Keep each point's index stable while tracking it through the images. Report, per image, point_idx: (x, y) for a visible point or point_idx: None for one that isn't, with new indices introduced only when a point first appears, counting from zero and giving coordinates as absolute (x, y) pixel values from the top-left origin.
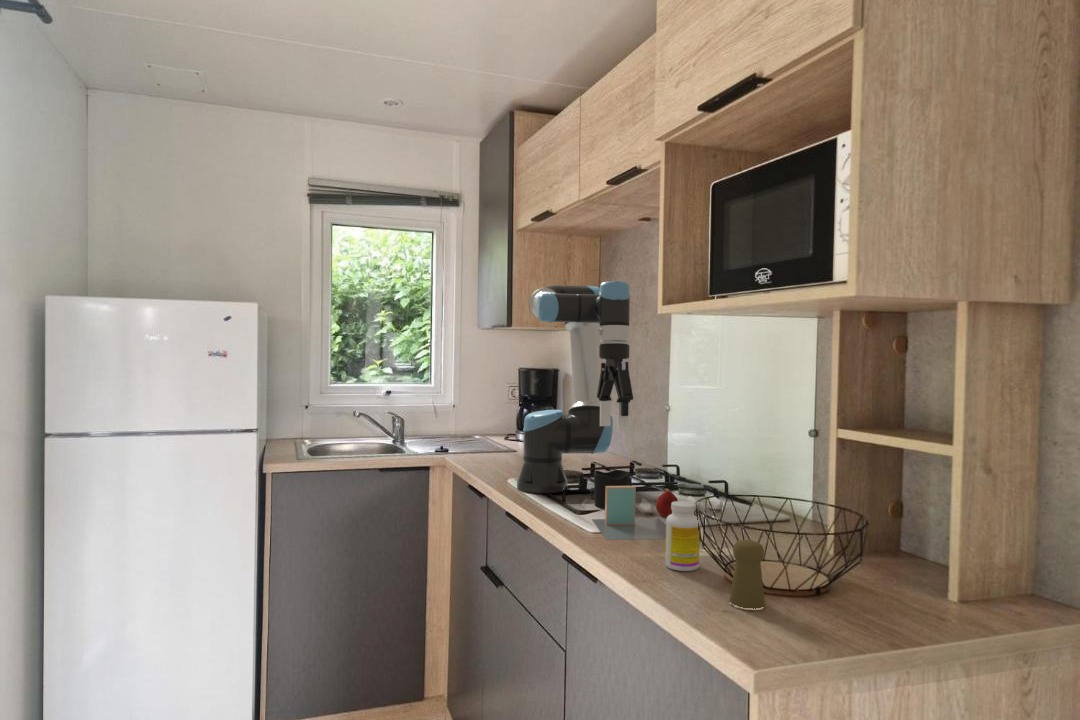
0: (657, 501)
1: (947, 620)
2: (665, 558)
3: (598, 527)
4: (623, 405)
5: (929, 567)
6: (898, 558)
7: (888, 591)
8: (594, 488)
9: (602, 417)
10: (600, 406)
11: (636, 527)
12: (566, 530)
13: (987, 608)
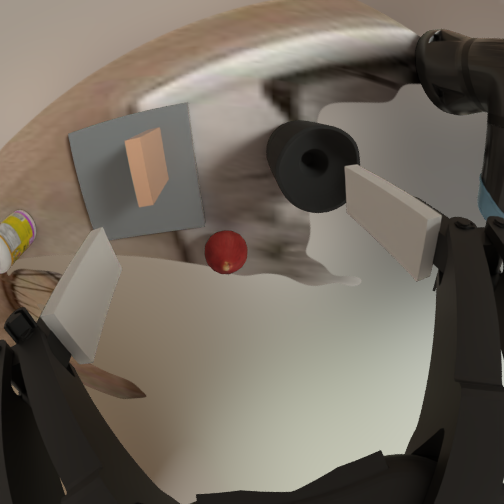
0: (223, 238)
1: None
2: (14, 212)
3: (130, 116)
4: (39, 324)
5: (111, 392)
6: (125, 388)
7: None
8: (310, 122)
9: (367, 189)
10: (409, 202)
11: None
12: (144, 60)
13: None
